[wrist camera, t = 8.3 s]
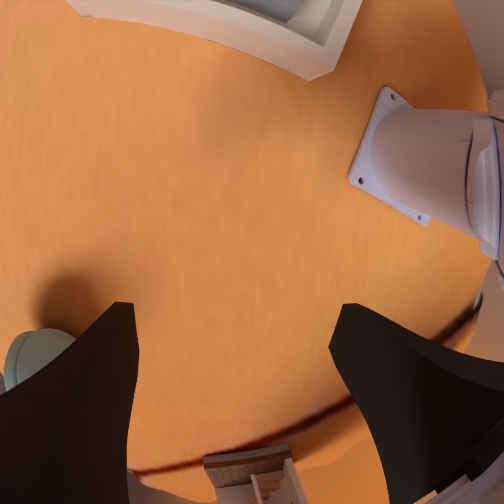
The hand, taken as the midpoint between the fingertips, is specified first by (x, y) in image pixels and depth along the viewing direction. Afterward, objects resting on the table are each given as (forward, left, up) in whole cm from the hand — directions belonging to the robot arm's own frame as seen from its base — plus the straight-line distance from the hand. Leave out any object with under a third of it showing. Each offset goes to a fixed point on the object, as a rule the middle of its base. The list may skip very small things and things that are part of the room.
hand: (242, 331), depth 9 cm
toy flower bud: (+9, +15, -10) cm, 20 cm away
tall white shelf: (-15, +31, -10) cm, 36 cm away
